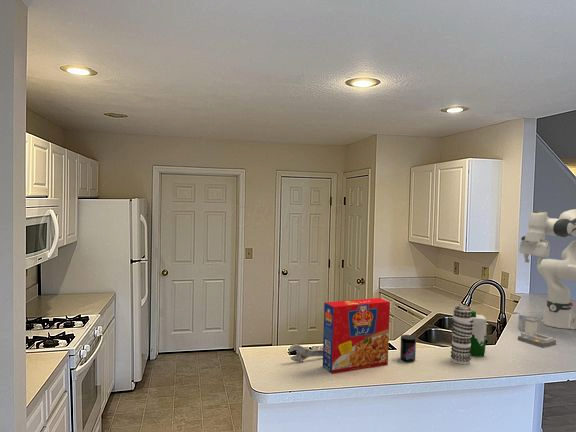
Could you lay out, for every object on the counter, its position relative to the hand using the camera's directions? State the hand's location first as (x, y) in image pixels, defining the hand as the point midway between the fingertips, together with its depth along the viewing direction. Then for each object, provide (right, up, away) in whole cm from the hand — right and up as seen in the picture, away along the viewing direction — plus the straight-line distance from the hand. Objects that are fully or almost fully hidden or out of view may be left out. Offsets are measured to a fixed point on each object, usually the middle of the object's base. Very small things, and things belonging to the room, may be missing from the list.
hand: (532, 263), depth 242 cm
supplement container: (-83, -39, -46) cm, 102 cm away
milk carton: (-48, -39, -36) cm, 72 cm away
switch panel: (-7, -39, -17) cm, 43 cm away
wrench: (-123, -38, -48) cm, 138 cm away
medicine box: (-1, -39, +3) cm, 39 cm away
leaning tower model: (-59, -39, -46) cm, 84 cm away
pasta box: (-108, -39, -55) cm, 127 cm away
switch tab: (-9, -37, -14) cm, 40 cm away
